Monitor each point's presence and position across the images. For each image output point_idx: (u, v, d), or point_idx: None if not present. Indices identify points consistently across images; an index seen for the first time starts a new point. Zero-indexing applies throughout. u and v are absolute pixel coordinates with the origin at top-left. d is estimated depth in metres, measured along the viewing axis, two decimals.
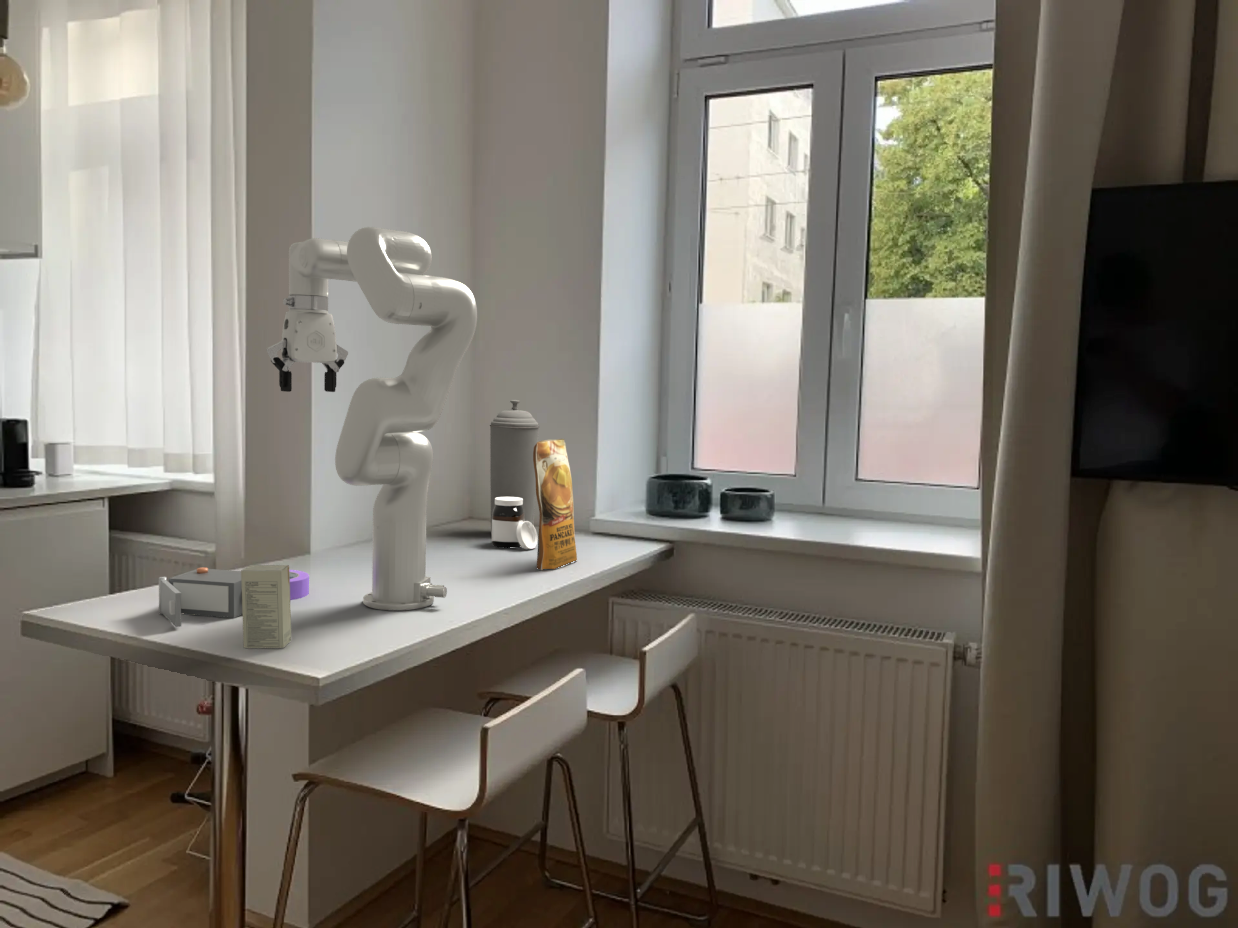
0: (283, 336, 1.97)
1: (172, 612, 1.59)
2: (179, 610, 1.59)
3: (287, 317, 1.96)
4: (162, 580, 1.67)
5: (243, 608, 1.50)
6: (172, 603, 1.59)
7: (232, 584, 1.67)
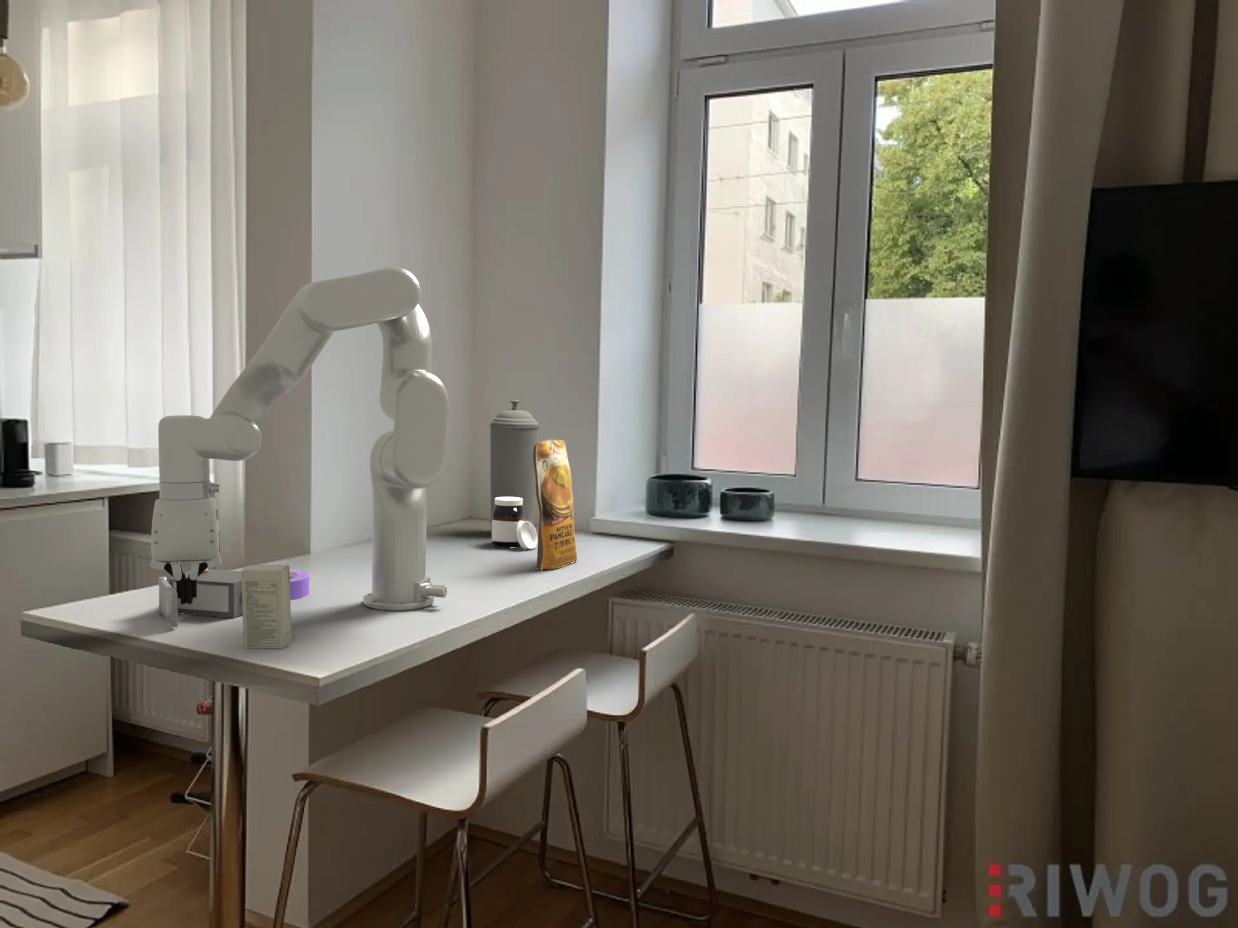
0: (217, 530, 1.63)
1: (169, 612, 1.59)
2: (176, 610, 1.59)
3: (215, 506, 1.63)
4: (162, 580, 1.67)
5: (243, 608, 1.50)
6: (169, 603, 1.59)
7: (232, 584, 1.67)
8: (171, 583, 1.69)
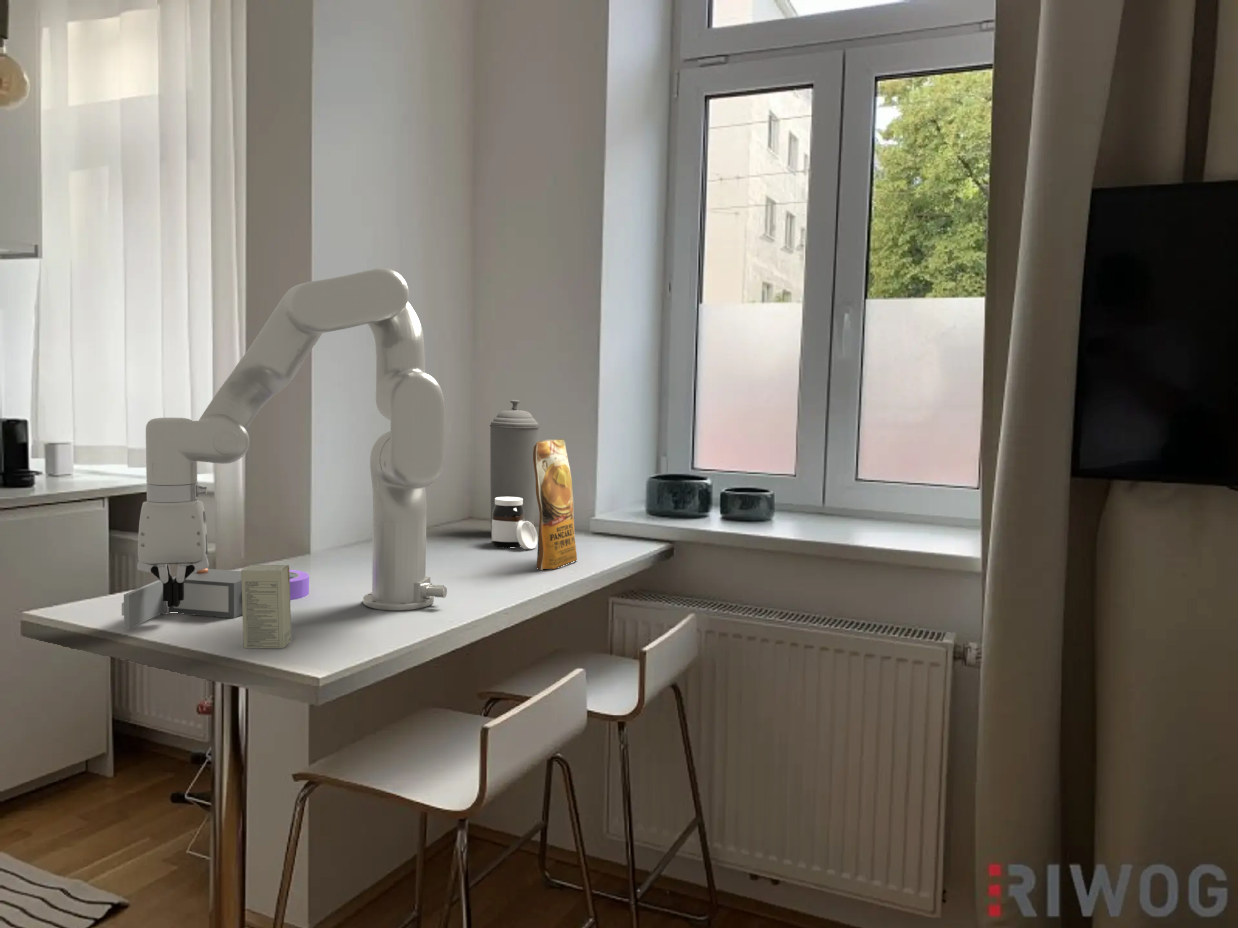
0: (204, 532, 1.62)
1: (123, 613, 1.57)
2: (127, 612, 1.57)
3: (203, 509, 1.63)
4: (158, 580, 1.67)
5: (243, 608, 1.50)
6: (122, 604, 1.57)
7: (232, 584, 1.67)
8: None
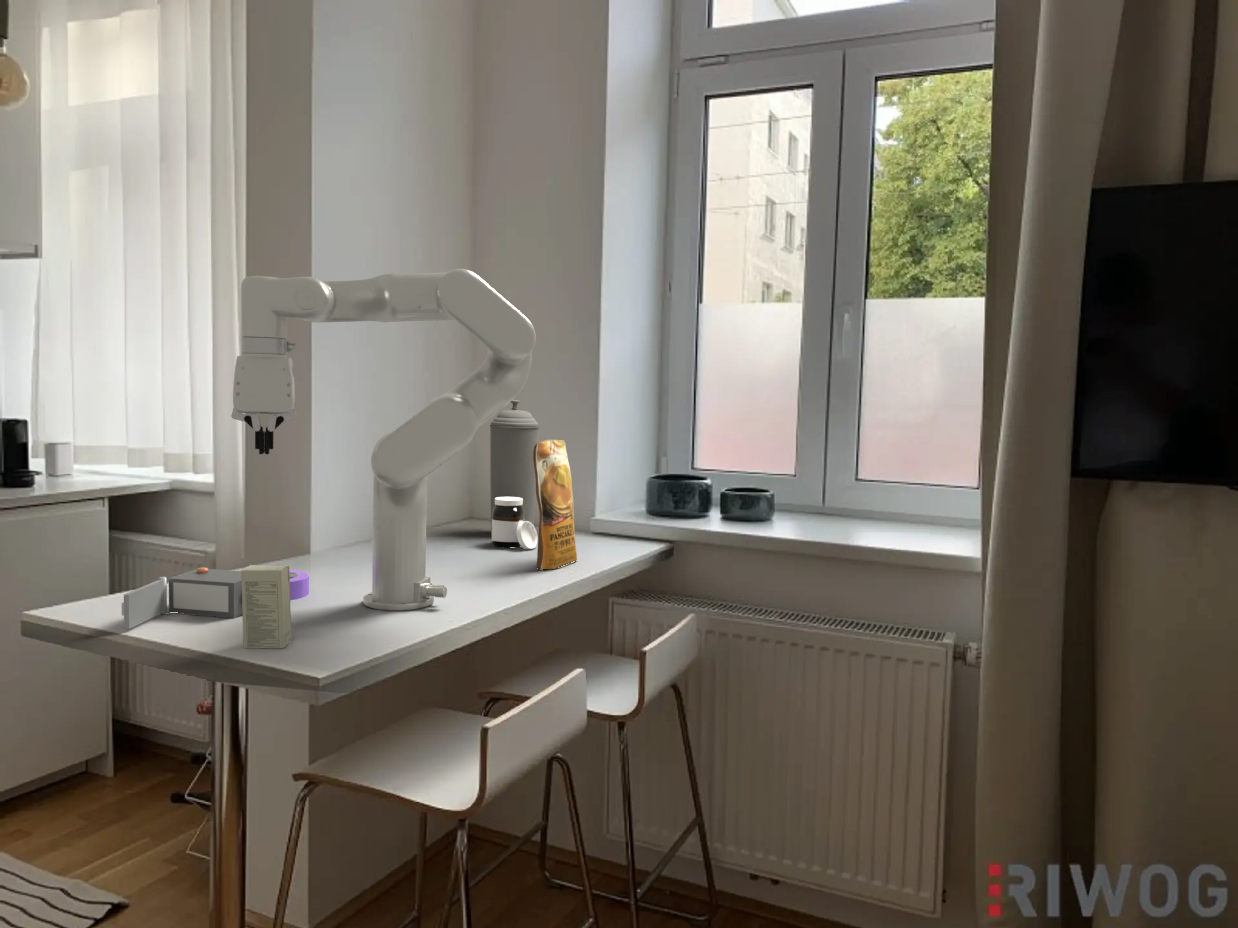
0: (293, 385, 1.74)
1: (123, 613, 1.57)
2: (127, 612, 1.57)
3: (292, 364, 1.75)
4: (158, 580, 1.67)
5: (243, 608, 1.50)
6: (122, 604, 1.57)
7: (232, 584, 1.67)
8: (171, 583, 1.69)
